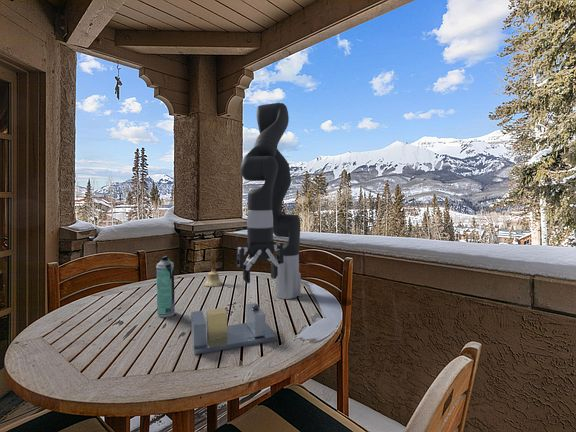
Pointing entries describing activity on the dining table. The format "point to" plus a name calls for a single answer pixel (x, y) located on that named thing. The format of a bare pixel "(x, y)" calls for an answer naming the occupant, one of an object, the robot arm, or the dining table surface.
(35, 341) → the dining table surface
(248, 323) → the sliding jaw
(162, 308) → the spray can
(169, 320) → the dining table surface
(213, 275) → the hand bell
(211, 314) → the block
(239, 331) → the vise
